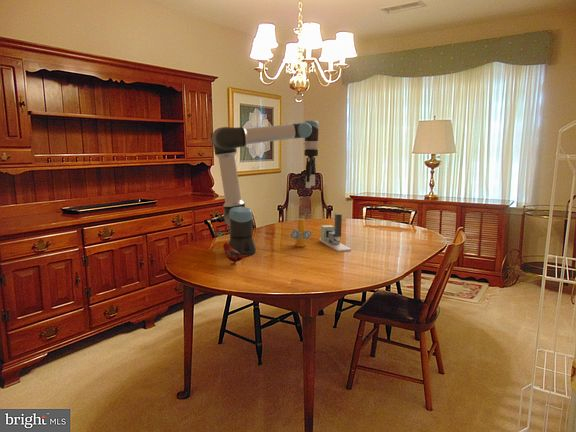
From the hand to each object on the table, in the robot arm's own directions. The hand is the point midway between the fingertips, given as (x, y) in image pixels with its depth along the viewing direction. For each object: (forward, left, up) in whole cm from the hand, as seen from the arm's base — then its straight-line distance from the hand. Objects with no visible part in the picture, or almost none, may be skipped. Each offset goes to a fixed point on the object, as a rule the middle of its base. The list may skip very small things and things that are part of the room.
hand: (310, 186), depth 239 cm
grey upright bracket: (-3, -14, -28) cm, 31 cm away
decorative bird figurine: (-55, +25, -32) cm, 69 cm away
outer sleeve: (-5, -15, -31) cm, 35 cm away
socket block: (+3, -10, -31) cm, 33 cm away
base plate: (-5, -15, -32) cm, 36 cm away
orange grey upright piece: (-10, +3, -32) cm, 34 cm away
